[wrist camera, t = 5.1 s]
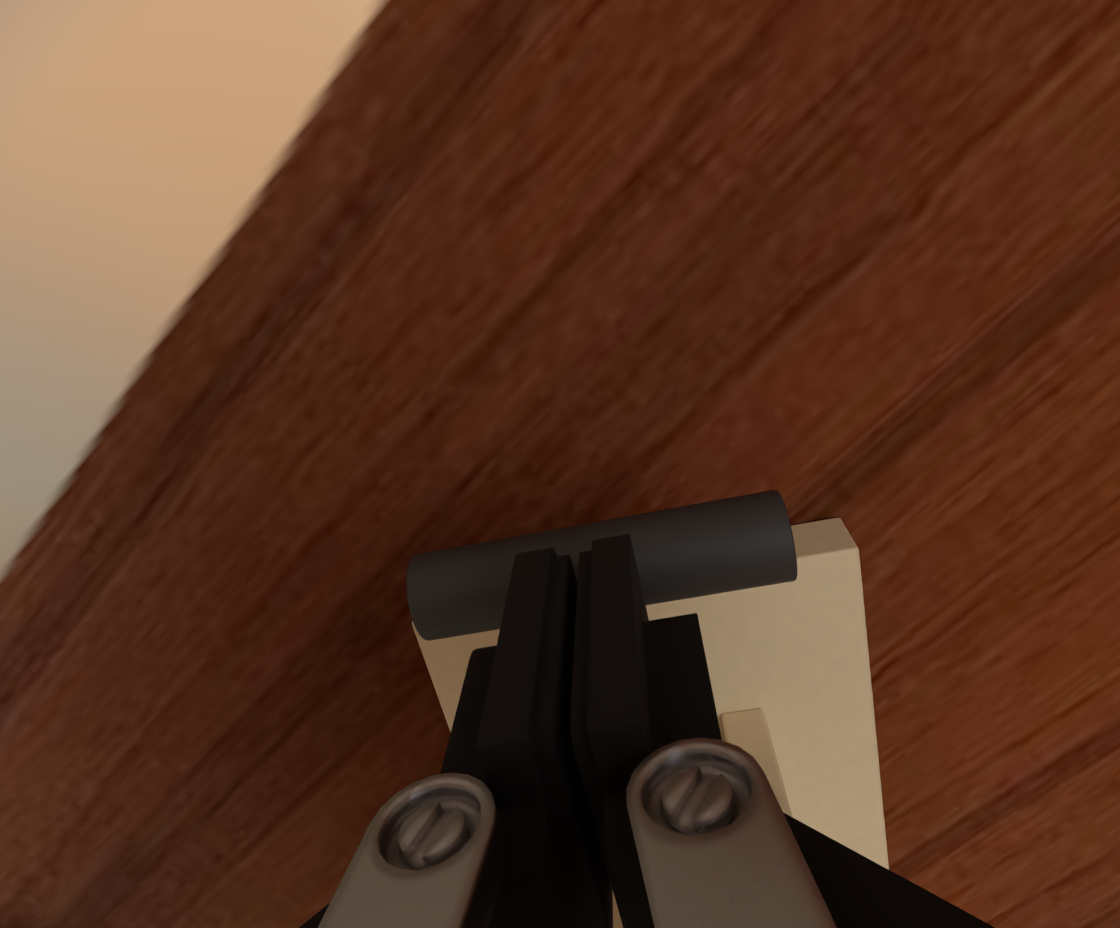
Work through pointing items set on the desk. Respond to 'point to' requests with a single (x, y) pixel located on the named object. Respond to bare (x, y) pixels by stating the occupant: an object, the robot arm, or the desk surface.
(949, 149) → the desk surface
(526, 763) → the robot arm
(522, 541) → the switch lever
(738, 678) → the lever stand
